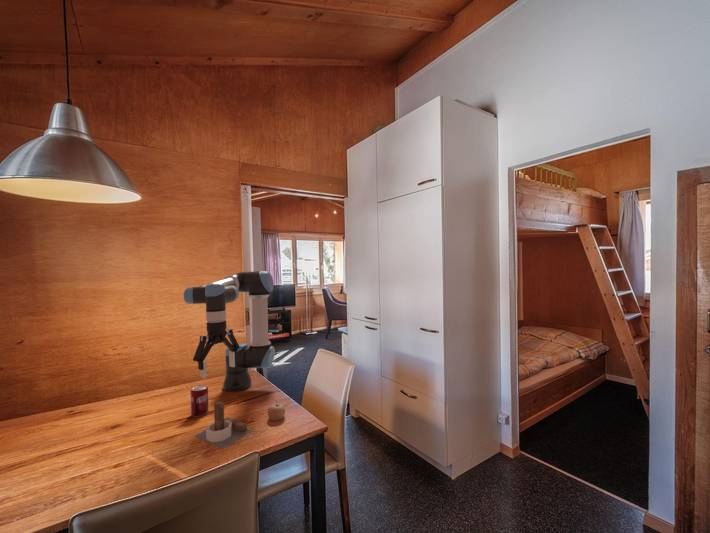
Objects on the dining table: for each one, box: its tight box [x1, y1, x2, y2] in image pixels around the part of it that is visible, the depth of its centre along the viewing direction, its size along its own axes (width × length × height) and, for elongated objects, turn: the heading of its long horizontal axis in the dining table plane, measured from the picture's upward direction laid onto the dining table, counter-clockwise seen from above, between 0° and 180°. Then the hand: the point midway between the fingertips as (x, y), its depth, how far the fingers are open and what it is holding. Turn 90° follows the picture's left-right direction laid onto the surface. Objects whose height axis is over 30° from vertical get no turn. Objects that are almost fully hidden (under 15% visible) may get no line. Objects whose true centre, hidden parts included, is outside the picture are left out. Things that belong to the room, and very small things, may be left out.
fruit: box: [267, 400, 286, 422], centre depth 138 cm, size 8×7×8 cm
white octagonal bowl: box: [205, 420, 232, 442], centre depth 124 cm, size 9×9×4 cm
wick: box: [224, 416, 248, 433], centre depth 130 cm, size 12×2×2 cm, turn 59°
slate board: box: [194, 428, 254, 449], centre depth 126 cm, size 14×18×1 cm
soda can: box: [189, 384, 209, 418], centre depth 146 cm, size 7×7×12 cm
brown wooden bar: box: [213, 400, 225, 431], centre depth 124 cm, size 2×2×12 cm
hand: (218, 371), depth 131 cm, fingers open, 13 cm apart
